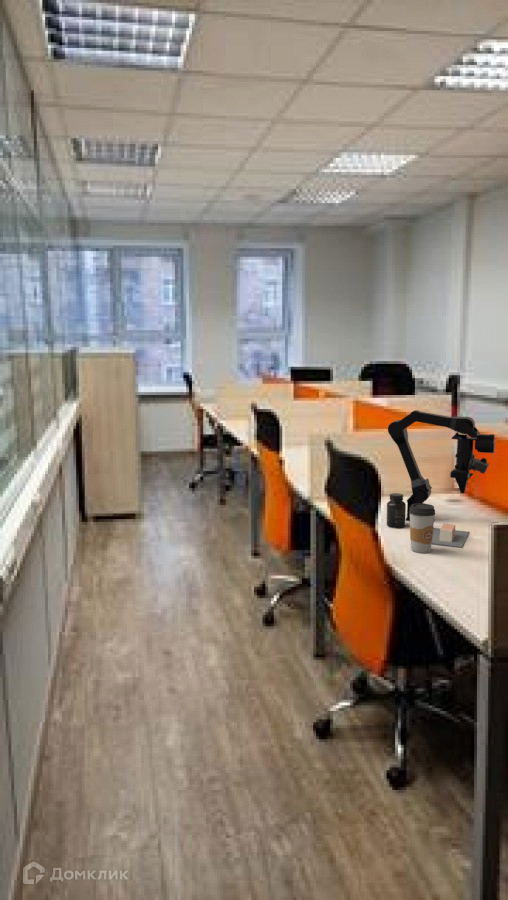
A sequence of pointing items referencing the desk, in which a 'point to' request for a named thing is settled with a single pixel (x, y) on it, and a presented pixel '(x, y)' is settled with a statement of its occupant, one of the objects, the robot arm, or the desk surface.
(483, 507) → the desk surface
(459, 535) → the mat
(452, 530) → the block
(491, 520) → the desk surface
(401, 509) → the supplement bottle
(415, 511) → the coffee cup
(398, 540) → the desk surface
